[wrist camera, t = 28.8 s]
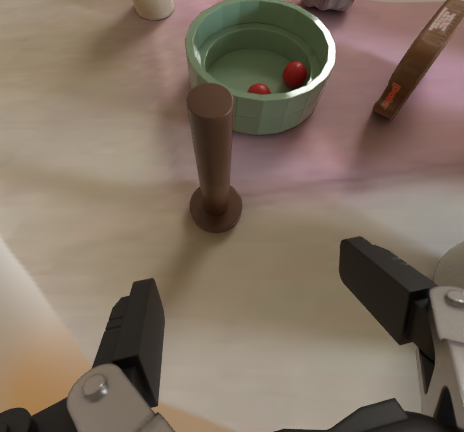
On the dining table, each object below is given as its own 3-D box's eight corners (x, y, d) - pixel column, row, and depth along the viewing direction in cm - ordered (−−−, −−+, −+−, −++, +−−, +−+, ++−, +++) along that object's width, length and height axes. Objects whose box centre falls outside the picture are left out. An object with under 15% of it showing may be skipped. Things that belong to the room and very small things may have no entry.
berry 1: (268, 112, 31) (270, 86, 30) (271, 109, 28) (274, 81, 27) (244, 111, 31) (246, 85, 30) (245, 108, 28) (247, 79, 27)
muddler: (225, 179, 27) (228, 52, 14) (250, 218, 26) (279, 115, 13) (182, 200, 26) (143, 84, 13) (206, 242, 25) (188, 156, 12)
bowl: (278, 31, 36) (287, -17, 31) (342, 111, 31) (366, 70, 26) (172, 63, 33) (163, 17, 28) (225, 157, 28) (226, 121, 23)
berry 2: (304, 78, 32) (315, 66, 30) (292, 97, 32) (303, 86, 29) (286, 64, 32) (296, 50, 29) (274, 83, 32) (283, 71, 29)
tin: (381, 135, 30) (436, 70, 22) (357, 121, 31) (402, 53, 23) (431, 64, 35) (492, -10, 27) (409, 53, 36) (462, -22, 28)
